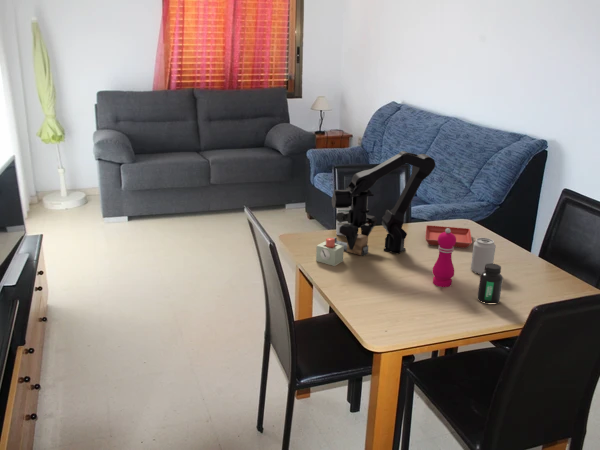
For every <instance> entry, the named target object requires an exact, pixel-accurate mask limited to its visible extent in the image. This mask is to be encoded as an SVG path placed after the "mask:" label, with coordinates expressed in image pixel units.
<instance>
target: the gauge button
mask: <svg viewBox="0 0 600 450" xmlns="http://www.w3.org/2000/svg"><path fill="white" fill-rule="evenodd" d="M325 241H326V247H328V248H334V247H335V239H334V237H327V238H325Z"/></svg>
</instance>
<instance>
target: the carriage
mask: <svg viewBox="0 0 600 450" xmlns="http://www.w3.org/2000/svg"><path fill="white" fill-rule="evenodd" d="M357 234H358V237H357V239H356V242H355V245H354V247H353V250H351V249H350V248H349V245H348V241H347V240H346V241H347V242H346V243H347V251H346V252H347V253H351V254H355V255H359V256H363V255H362V250H363V247H364V246H366V245H368V243H369V242H368V240H369V236H366V235H362V234H361V233H359V232H358V233H357Z"/></svg>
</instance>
